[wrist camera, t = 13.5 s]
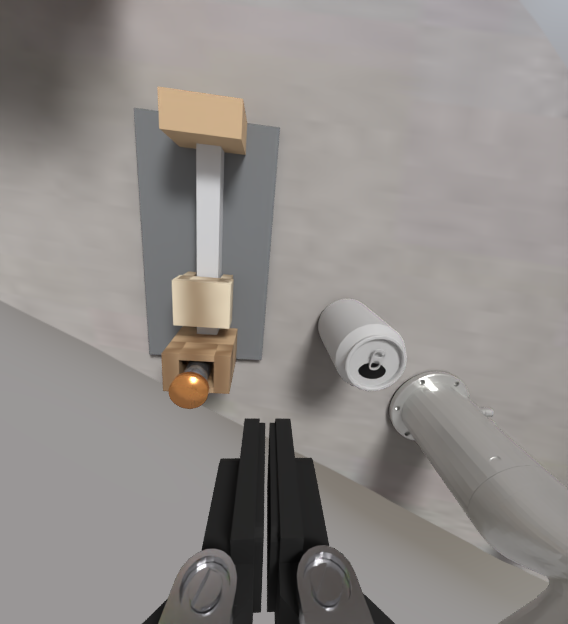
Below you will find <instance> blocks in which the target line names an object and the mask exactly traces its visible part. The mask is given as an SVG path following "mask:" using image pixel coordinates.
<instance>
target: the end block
mask: <svg viewBox="0 0 568 624" xmlns="http://www.w3.org/2000/svg"><path fill="white" fill-rule="evenodd" d="M237 331H238V329H236V328H229V329H225V328H220V329H219V331H218V334H217V335H209V334H197V327H193V326H182V328H181V329H180V330H179V332H178V333H177V334H176V335H175V337H174V338H173V339H172V341H171V342H170V343H169V344H168V346H167V347H166V348H165V350H164V351H163V352H162V353H161V355H162V376H163V391H169V387H170V385H171V383H172V381H173V380H174V378H175V377H176V376H177V375H179V374H181V373H183V372H184V370H185V368H186V366H187V365H188V363H189V361H207V362H213V366H212V369H211V372H210V375H209V378H208V380H207V382H208V384H209V393H224V394H229V392H230V387H231V382H232V377H233V372H234V367H235V362H236V352H237Z"/></svg>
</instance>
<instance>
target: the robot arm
mask: <svg viewBox="0 0 568 624" xmlns="http://www.w3.org/2000/svg"><path fill="white" fill-rule="evenodd" d="M389 414H390V420H391V422H392V424H393V426H394V427H395V429H396V430H397V431H398V432H399V434H401V435H402V436H403V437H405V438H408V439H410V440H414V441H416V442H417V444H418V445H419V447H420V448H421V449H422V451H423V452H424V454H425V455H426V457H427V458H428V460H429V461H430V462H431V464H432V465H433V467H434V468H435V470H436V471H437V473H438V474H439V476H440V477H441V478H442V480H443V481H444V483H445V484H446V486H447V487H448V489H449V490H450V491H451V493H452V494H453V496H454V497H455V499H456V500H457V502H458V503H459V505H460V506H461V507H462V509H463V510H464V512H465V513H466V515H467V516H468V518H469V519H470V520H471V522H472V523H473V525H474V526H475V527H476V529H477V530H478V532H479V533H480V534H481V536H482V537H483V538H484V539H485V540H486V541H487V542H488V544H489V545H491V546H492V547H493V548H494V549H495V550H496V551H497V552H499V553H500V554H502V555H503V556H505V557H506V558H508V559H510V560H511V561H513V562H515V563H517V564H519V565H521V566H523V567H526V568H528V569H530V570H532V571H535V572H537V573H539V574H541V575H544V576H546V577H547V578H548V579H549V585H548V587H547V588H546V589H545V590H544V591H543V592H542V593H540V594H539V595H538V596H537V598H535V599H534V600H532V601H531V602H529V603H528V604H526V605H525V606H523V607H522V608H520V609H519V610H517V611H516V612H514V613H513V614H511V615H510V616H508V617H507V618H506V619H504V620H502V621H501V622H500V623H499V624H568V488H567V487H566V486H564V485H563V484H562V483H561V482H560V481H559V480H558V479H556V478H555V477H554V476H553V475H552V474H551V473H550V472H548V471H547V470H546V469H545V468H544V467H543V466H542V465H540V464H539V463H538V462H537V461H536V460H535V459H534V458H532V457H531V456H530V455H529V454H528V453H527V452H526V451H525V450H523V449H522V448H521V447H520V446H519V445H518V444H517V443H515V442H514V441H513V440H512V439H511V438H510V437H509V436H507V435H506V434H505V433H504V432H503V431H502V430H501V429H499V428H498V427H497V426H496V423H495V422H494V421H493V420H492V419H488V418H487V417H492V416H493V414H494V412H493V410H492V409H491V408H490V407H478V406H477V405H476V404H475V403H473V402H472V401H471V400H470V395H469V391H468V389H467V387H466V385H465V384H464V383H463V382H462V381H461V380H459V379H458V378H457V377H455V376H454V375H452V374H450V373H446V372H440V371H433V372H426V373H423V374H419V375H417V376H415V377H413V378H411V379H410V380H408V381H407V382H405V383H404V384H403V385H402V386H401V387H400V388H399V389H398V391H397V392H396V393H395V395H394V397H393V398H392V401H391V404H390V409H389ZM259 421H260V419H245V421H244V431H243V439H242V447H241V456H240V458H235V459H221V460H220V463H219V467H218V473H217V477H216V482H215V487H214V492H213V497H212V502H211V507H210V512H209V516H208V522H207V526H206V531H205V536H204V541H203V546H202V551H200V552H198V553H196V554H195V555H193V556H192V557H191V558H189V559H188V561H187V562H186V563H185V564H184V565H183V566H182V568H181V569H180V571H179V573H178V575H177V577H176V579H175V581H174V584H173V586H172V589H171V591H170V594H169V597H168V599H167V600H166V601H165V602H164V603H163V604H162V605H161V606H160V607H159V608H158V609H157V610H156V611H155V612H154V613H153V614H152V615H151V616H150V617H149V618H148V619H147V620H146V621H145V622H144V623H142V624H252V622H253V613H256V612H257V613H258V612H261V593H262V566H263V565H262V564H263V538H264V473H265V472H264V471H265V468H264V467H265V423H259ZM267 612H275V624H395V623H394V622H393V621H392V620H391V619H390V618H388V616H386V615H385V614H384V613H383V612H382V611H381V610H380V609H379V608H378V607H377V606H376V605H375V604H374V603H373V602H372V601H371V600H370V599H369V598H368V597H367V596H366V595H364V594H363V593H362V590H361V587H360V585H359V582H358V579H357V576H356V574H355V572H354V570H353V568H352V566H351V564H350V562H349V561H348V560H347V558H346V557H345V556H344V555H343V554H342V553H341V552H339V551H338V550H336V549H335V548H332V547H329V543H328V537H327V531H326V526H325V521H324V516H323V510H322V505H321V500H320V495H319V490H318V484H317V479H316V474H315V469H314V464H313V460H312V458H295V456H294V446H293V438H292V429H291V421H290V419H275V423H270V430H269V455H268V482H267Z"/></svg>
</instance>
